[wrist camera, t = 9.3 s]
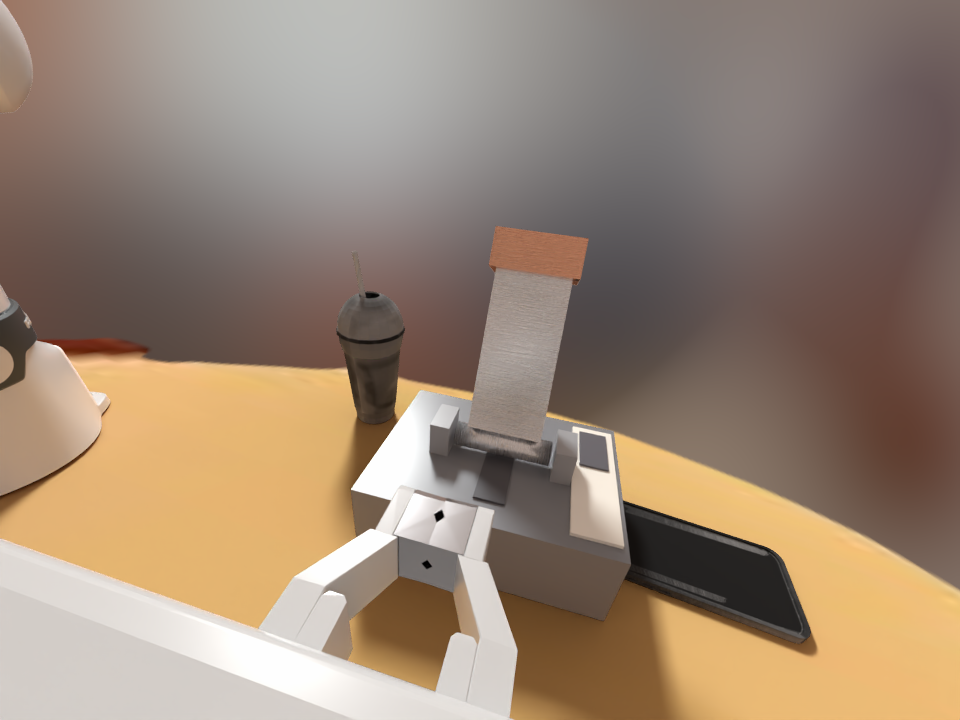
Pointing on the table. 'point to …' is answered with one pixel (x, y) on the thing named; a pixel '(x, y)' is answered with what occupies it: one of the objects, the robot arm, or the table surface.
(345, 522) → the table surface
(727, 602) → the phone
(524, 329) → the lever
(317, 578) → the robot arm
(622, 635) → the table surface
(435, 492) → the switch box
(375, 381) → the beverage cup
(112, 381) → the table surface
